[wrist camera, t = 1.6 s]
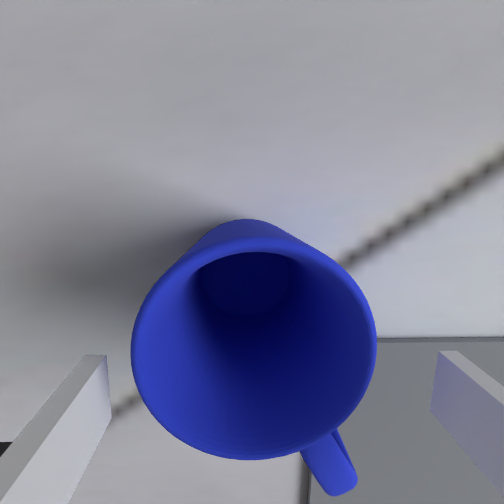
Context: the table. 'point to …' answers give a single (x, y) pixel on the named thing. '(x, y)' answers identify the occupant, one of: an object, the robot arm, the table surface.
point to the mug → (257, 350)
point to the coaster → (412, 430)
